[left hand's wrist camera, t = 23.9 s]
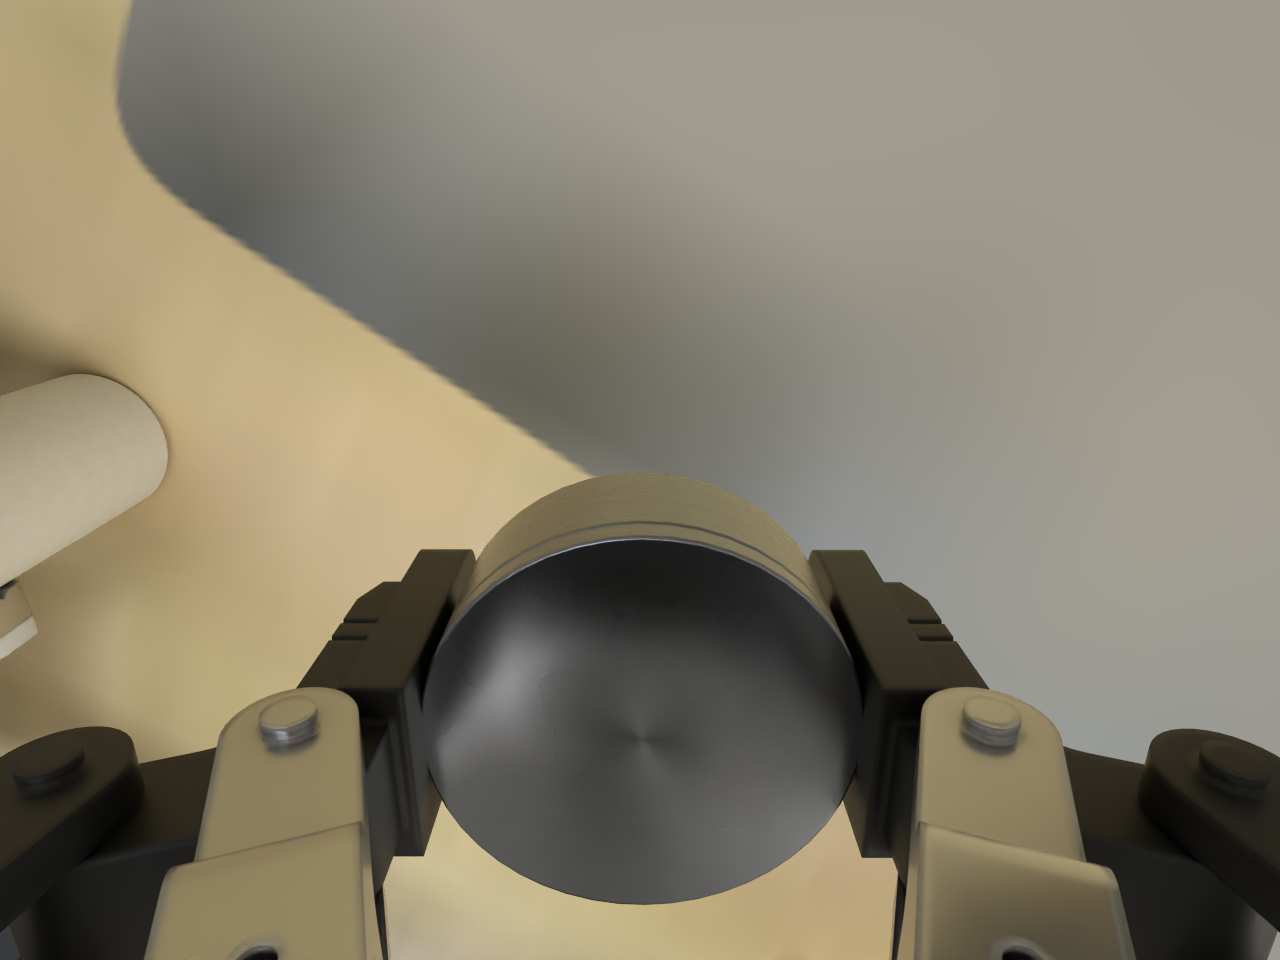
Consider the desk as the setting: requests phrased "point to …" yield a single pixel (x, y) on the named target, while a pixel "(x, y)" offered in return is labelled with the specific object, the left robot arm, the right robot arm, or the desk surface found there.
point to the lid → (642, 694)
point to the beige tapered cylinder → (71, 464)
